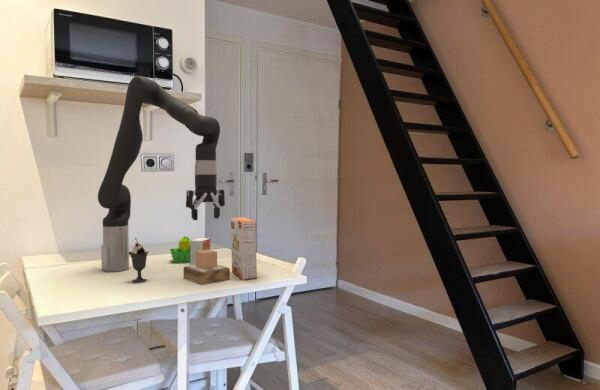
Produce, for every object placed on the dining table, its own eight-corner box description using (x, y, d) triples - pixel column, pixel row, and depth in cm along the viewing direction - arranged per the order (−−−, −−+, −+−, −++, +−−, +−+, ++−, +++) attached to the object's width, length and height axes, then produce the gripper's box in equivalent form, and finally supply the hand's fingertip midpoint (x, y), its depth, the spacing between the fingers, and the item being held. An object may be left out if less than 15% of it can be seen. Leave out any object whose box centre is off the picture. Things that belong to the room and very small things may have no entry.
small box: (203, 266, 178) (202, 240, 177) (190, 266, 179) (189, 240, 178) (211, 262, 185) (210, 237, 185) (198, 262, 187) (198, 237, 186)
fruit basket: (197, 258, 194) (196, 233, 193) (199, 262, 186) (198, 236, 185) (170, 260, 190) (169, 234, 190) (170, 264, 182) (170, 237, 181)
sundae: (133, 278, 158) (132, 236, 157) (152, 278, 158) (151, 236, 157) (125, 283, 151) (124, 239, 150) (145, 283, 151) (144, 239, 150)
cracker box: (230, 272, 168) (230, 217, 167) (246, 270, 171) (245, 216, 169) (240, 280, 155) (240, 221, 154) (257, 278, 158) (256, 220, 157)
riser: (202, 284, 149) (202, 272, 149) (183, 277, 159) (183, 266, 159) (229, 279, 157) (229, 267, 156) (210, 273, 166) (210, 261, 166)
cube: (203, 269, 154) (203, 253, 153) (195, 266, 158) (195, 251, 157) (217, 266, 157) (217, 251, 157) (209, 264, 161) (208, 249, 161)
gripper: (217, 173, 163) (217, 217, 164) (182, 173, 154) (182, 219, 154) (228, 173, 158) (228, 218, 159) (192, 173, 148) (193, 221, 149)
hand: (205, 219), depth 157 cm, fingers open, 8 cm apart
